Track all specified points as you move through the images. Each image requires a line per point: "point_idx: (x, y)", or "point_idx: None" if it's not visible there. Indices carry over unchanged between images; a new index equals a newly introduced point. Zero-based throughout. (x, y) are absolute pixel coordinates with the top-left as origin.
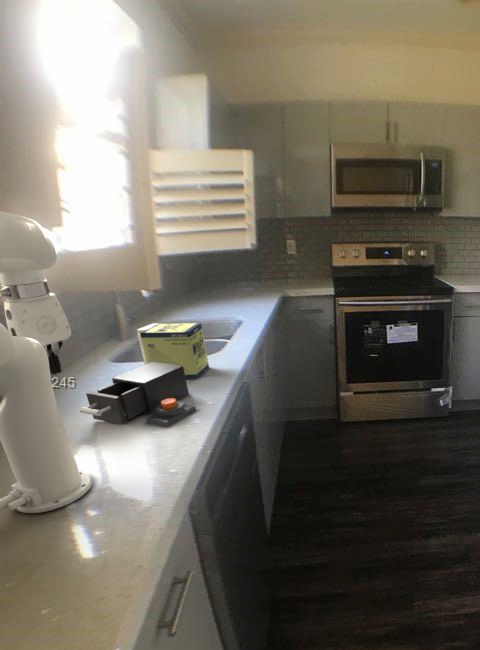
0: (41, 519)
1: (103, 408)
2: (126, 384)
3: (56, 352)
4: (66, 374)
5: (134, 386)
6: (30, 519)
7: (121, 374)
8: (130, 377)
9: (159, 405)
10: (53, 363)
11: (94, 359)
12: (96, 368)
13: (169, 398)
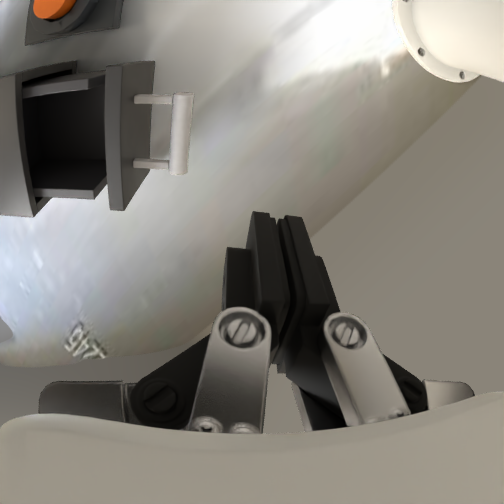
0: None
1: (137, 131)
2: None
3: (240, 331)
4: (68, 358)
5: None
6: None
7: (10, 213)
8: (6, 165)
9: (60, 26)
10: (303, 261)
11: (28, 355)
12: (33, 338)
13: (36, 12)
